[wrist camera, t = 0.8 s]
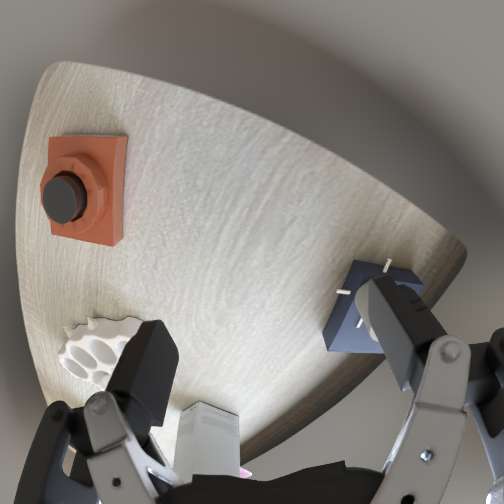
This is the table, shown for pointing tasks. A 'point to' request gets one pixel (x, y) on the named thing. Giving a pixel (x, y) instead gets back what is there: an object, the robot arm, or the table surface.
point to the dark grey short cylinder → (64, 198)
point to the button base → (91, 184)
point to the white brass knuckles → (96, 348)
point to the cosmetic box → (207, 443)
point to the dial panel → (347, 315)
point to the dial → (364, 308)
